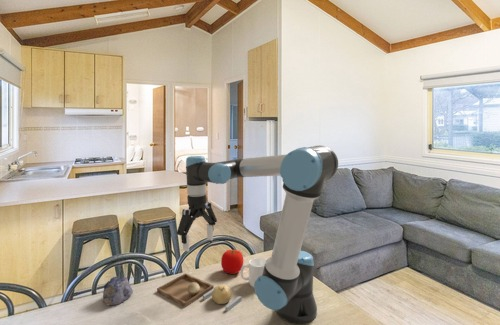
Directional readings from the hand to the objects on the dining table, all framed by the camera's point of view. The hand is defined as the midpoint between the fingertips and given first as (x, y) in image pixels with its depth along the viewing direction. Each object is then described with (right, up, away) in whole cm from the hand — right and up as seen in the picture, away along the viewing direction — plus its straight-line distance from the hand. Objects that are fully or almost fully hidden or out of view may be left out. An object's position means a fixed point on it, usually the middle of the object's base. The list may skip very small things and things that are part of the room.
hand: (198, 244), depth 123 cm
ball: (-2, -21, 0) cm, 21 cm away
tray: (-6, -21, +3) cm, 22 cm away
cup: (+23, -20, +9) cm, 32 cm away
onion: (+10, -22, -3) cm, 24 cm away
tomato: (+13, -19, +20) cm, 30 cm away
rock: (-32, -22, -2) cm, 39 cm away
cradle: (+10, -21, -3) cm, 24 cm away
